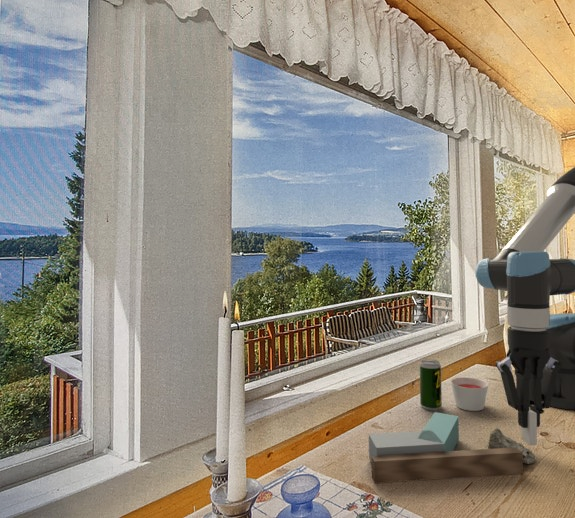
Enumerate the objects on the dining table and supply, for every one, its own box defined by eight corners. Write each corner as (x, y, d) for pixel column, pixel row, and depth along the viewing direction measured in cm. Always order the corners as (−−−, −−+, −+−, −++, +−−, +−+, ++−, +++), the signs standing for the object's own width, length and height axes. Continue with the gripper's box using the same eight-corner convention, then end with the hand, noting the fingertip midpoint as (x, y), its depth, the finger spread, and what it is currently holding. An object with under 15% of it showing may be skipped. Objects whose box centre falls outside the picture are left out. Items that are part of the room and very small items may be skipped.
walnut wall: (516, 467, 82) (516, 447, 82) (523, 473, 80) (522, 452, 80) (371, 477, 80) (371, 456, 80) (374, 482, 78) (374, 461, 78)
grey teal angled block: (453, 433, 97) (452, 411, 97) (487, 467, 82) (487, 441, 82) (359, 438, 96) (358, 416, 95) (377, 474, 81) (376, 447, 80)
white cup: (489, 403, 115) (489, 379, 114) (487, 415, 107) (487, 390, 106) (453, 398, 119) (453, 375, 119) (449, 410, 111) (448, 385, 111)
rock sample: (544, 456, 78) (507, 414, 84) (510, 480, 80) (475, 437, 85) (545, 457, 87) (511, 419, 92) (514, 479, 88) (483, 440, 93)
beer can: (418, 408, 112) (417, 363, 112) (422, 401, 117) (421, 358, 116) (440, 412, 109) (439, 365, 109) (443, 404, 114) (442, 360, 114)
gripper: (546, 322, 91) (547, 432, 92) (487, 325, 90) (488, 435, 91) (572, 329, 84) (573, 449, 84) (507, 332, 83) (509, 452, 83)
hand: (529, 442), depth 88 cm, fingers closed
